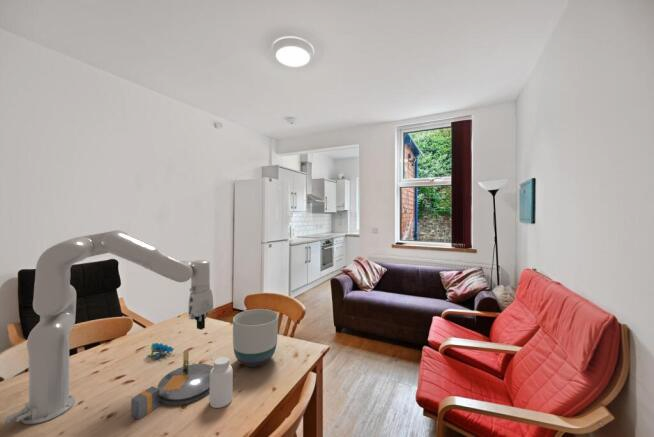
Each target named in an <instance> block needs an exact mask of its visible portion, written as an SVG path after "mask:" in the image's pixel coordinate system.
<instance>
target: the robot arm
mask: <svg viewBox="0 0 654 437" xmlns="http://www.w3.org/2000/svg"><path fill="white" fill-rule="evenodd" d="M105 254H112V255H115V256H116V257H118V258H121V259H124V260H126V261H129V262H132V263H133V264H136V265H138V266H140V267H142V268H144V269H146V270H149V271H151V272H153V273H155V274H156V275H157V274H158V275H159V276H162V277H164V278H166V279H169V280H171V281H174V282H177V283H185V282H188V281H191V282H190V284H191V285H190V287H191V288H189V292H190V293H189V298H188V306H187V308H188V310H187V311H188V312H187V313H188V315H189V320H195V321H196V329H197V330H199V331H201V330H205V328H206V319H207V316H208V314H210V313H211V312H212V311H213V310H214V296H213V292H212V291H213V290H212V288H211V286H210V285H211V279H210V278H211V275H210V274H211V273H210V272H211V269H210V268H211V264H210V261H209V260H207V259H199V260H194V261H193V260H187V261H186V260H177V259H174V258H172V257H171V256H168V255H167V254H165V253H164V252H162V251H161V250H159V249H158V248H157V247H155V246H153V245H151V244H148V243H146V242H144V241H142V240H139V239H137V238H135V237H133V236H131V235H129V234H128V233H127V232H125V231H124V230H118V229H117V230H109V231H106V232H101V233H100V232H99V233H95V234H88V235H83V236H78V237H73V238H69V239H66V240H64V241H62V242H59V243H57V244H53V245H52V246H50V247H48V248H47V249H46V250H44V251H43V252H42V253H41V255H40V256H39V258H38V260H37V262H36V265H35V275H34V285H33V286H34V287H33V300H32V308H33V311H34V313H36V314H37V315H38V316H39V322H38V323H37V324H36V325H35V326H34V327H33V328H32V329H31V331H30V332H29V335H28V337H27V340H26V348H27V354H28V372H29V373H28V374H29V375H28V402H27V403H25V404H24V407H23V408H21V409H20V410H19V411H17V412H14V413H12V414H10V415H8V416H6V417H5V420H6V423H7V424H9V423H11V422H13V421H15V422H16V423H18V422H21V423H22V424H24V425H35V424H36V425H37V424H41V423H44V422H46V421H49V420H52V419H54V418H56V417H58V416H61V415H62V414H64V413H66V412H67V411H69V409H71V408H72V407H73V406H74V404H75V400H76V398H75V396H73V395H71V394H70V345H69V344H70V343H69V337H70V336H69V335H70V333H71V331H72V329H74V326H75V323H76V314H77V313H76V312H77V290H76V289H75V287H74V286H73V285H72V284H71V275H72V274H71V268H72V266H73V265H74V264H76V263H79V262H82V261H84V260H86V259H87V258H91V257H95V256H101V255H105Z"/></svg>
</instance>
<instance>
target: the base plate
mask: <svg viewBox="0 0 654 437" xmlns="http://www.w3.org/2000/svg"><path fill="white" fill-rule="evenodd" d="M209 392H210V389H209V390H207V391H206V392H204V393H203V394H201V395H199V396H196V397H194V398H191V399H187V400H182V401H168V400H164V399H162V398H161V397H159V404H161V405H164V406H168V407H169V406H170V407H179V406H185V405H189V404H192V403H195V402H197V401H200V400H202V399H203V398H205V397H207V396H208V395H209Z"/></svg>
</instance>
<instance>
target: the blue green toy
mask: <svg viewBox="0 0 654 437" xmlns="http://www.w3.org/2000/svg"><path fill="white" fill-rule="evenodd" d="M174 349H175V348H173V347H172V346H171V345H170V346H169V345H168V344H164V343H159V342H155V343H152V344H151V348H150V350H151V353H150V356H149V358H152V356H153V355H154V353H157V356H156V358H155V359H156V360H157V359H159V358H160V356H161V354H162V353H163V352H164V353H165V352H167V353H170V352H171V353H172V352H173V351H174Z"/></svg>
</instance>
